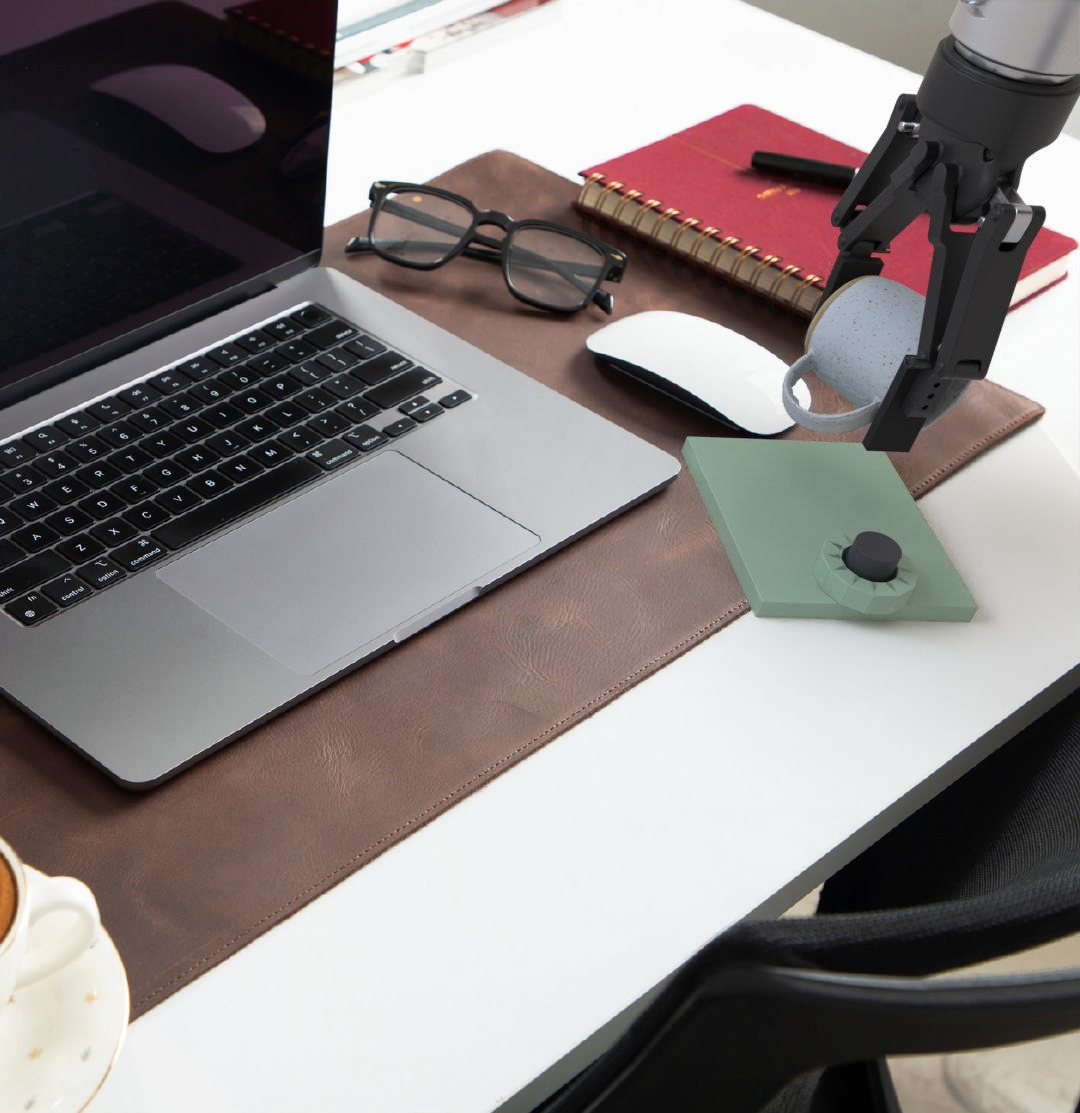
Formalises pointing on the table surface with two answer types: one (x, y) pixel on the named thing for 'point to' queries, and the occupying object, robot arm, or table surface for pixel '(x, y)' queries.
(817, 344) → the ceramic mug
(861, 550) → the button
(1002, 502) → the table surface
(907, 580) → the scale
